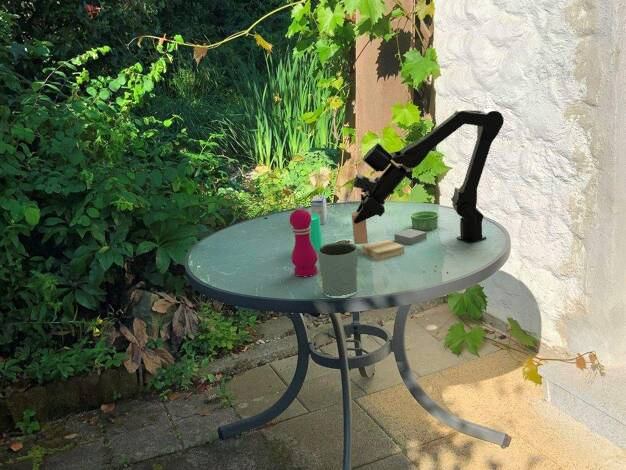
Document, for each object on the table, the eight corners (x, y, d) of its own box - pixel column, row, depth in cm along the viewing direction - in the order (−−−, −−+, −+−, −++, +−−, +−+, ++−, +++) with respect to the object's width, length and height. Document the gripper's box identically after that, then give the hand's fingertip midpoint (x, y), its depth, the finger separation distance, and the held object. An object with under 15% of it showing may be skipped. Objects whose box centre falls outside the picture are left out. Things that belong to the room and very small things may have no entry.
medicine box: (315, 218, 244) (313, 195, 241) (327, 218, 243) (325, 194, 240) (312, 225, 236) (310, 201, 234) (325, 224, 235) (323, 200, 233)
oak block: (404, 254, 199) (404, 246, 198) (378, 261, 195) (378, 253, 194) (387, 247, 207) (387, 239, 206) (362, 253, 203) (362, 245, 202)
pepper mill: (299, 280, 185) (291, 209, 179) (289, 272, 192) (282, 204, 186) (323, 274, 188) (316, 204, 182) (312, 267, 194) (306, 199, 188)
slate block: (426, 239, 210) (426, 232, 209) (411, 245, 206) (411, 237, 205) (409, 236, 215) (409, 228, 214) (394, 241, 211) (394, 234, 210)
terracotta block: (366, 239, 208) (364, 211, 205) (367, 243, 204) (365, 214, 201) (353, 240, 208) (351, 212, 205) (354, 244, 204) (352, 215, 202)
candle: (323, 245, 212) (320, 209, 209) (321, 252, 206) (318, 214, 203) (304, 247, 213) (301, 210, 209) (302, 253, 207) (298, 215, 204)
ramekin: (426, 221, 227) (426, 209, 226) (444, 227, 220) (444, 214, 219) (405, 227, 223) (404, 214, 222) (423, 233, 216) (422, 219, 214)
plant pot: (330, 284, 180) (326, 241, 176) (366, 286, 176) (362, 242, 172) (315, 299, 171) (311, 254, 168) (353, 301, 167) (349, 255, 164)
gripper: (365, 158, 208) (333, 197, 212) (370, 171, 190) (334, 212, 194) (393, 181, 210) (360, 218, 213) (399, 195, 192) (364, 236, 196)
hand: (354, 220), depth 204 cm, fingers closed on terracotta block, 4 cm apart
